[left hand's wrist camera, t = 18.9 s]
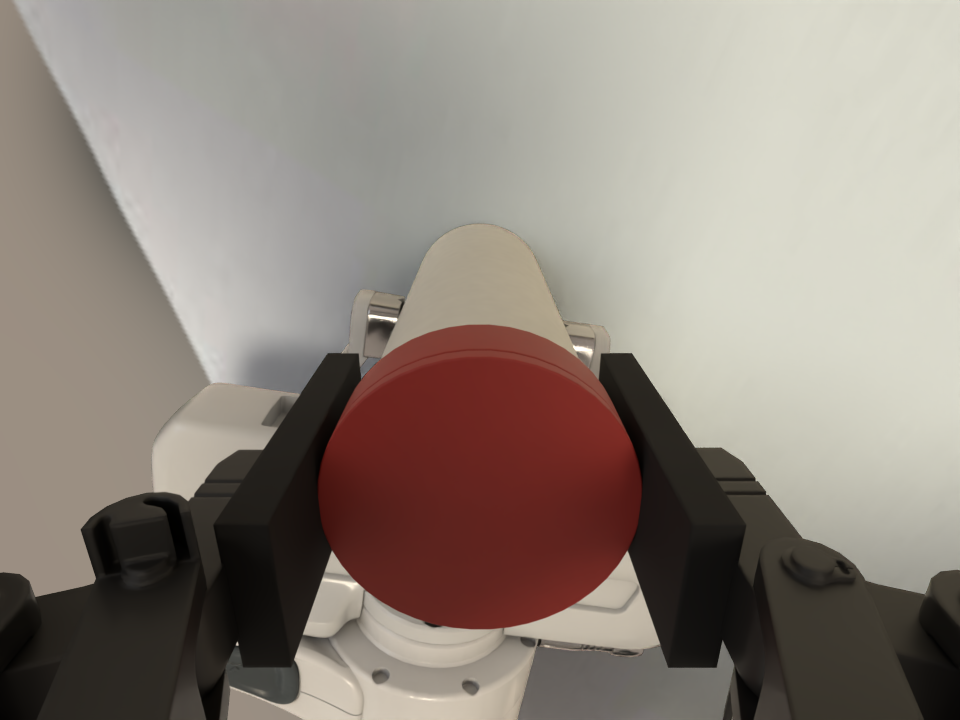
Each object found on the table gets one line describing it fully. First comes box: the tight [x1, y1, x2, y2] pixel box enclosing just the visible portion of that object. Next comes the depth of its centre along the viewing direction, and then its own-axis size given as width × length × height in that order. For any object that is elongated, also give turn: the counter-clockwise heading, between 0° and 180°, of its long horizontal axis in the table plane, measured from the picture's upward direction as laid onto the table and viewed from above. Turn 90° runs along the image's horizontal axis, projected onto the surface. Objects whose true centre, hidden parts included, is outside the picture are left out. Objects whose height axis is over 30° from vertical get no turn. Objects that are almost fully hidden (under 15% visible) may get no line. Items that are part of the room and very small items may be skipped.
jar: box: [381, 224, 579, 359], centre depth 18 cm, size 5×5×15 cm
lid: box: [317, 324, 642, 630], centre depth 11 cm, size 6×6×2 cm
